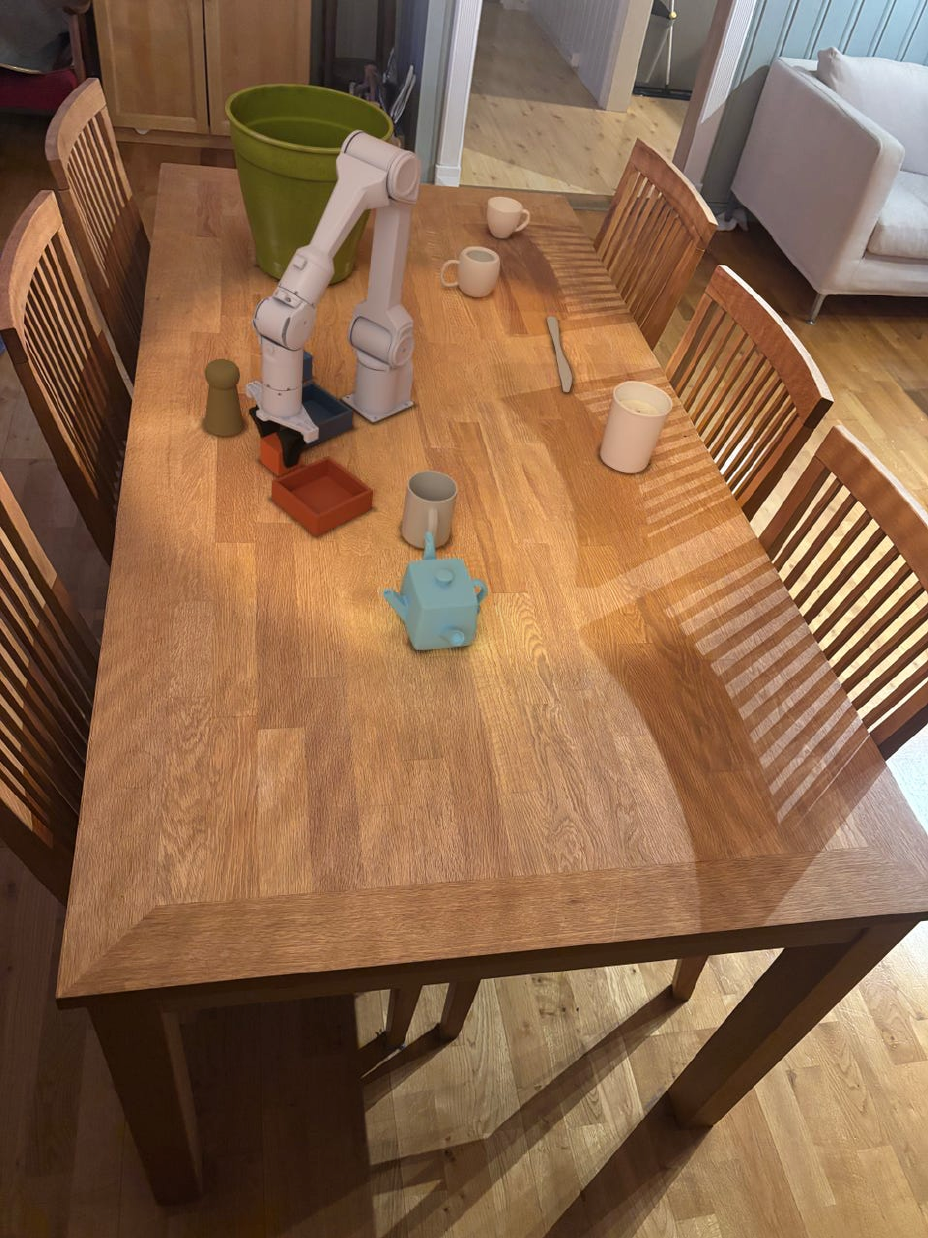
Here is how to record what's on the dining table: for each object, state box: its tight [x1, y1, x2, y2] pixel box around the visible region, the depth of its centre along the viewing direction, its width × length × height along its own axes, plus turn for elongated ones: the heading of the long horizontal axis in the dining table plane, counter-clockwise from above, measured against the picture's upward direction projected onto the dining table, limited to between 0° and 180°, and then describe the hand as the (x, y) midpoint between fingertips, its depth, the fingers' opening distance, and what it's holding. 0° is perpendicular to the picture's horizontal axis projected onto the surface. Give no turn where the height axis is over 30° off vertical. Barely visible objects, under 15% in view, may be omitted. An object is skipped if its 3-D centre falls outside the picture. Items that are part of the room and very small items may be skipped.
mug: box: [439, 245, 501, 298], centre depth 194 cm, size 12×8×8 cm
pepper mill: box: [203, 358, 244, 437], centre depth 150 cm, size 6×6×11 cm
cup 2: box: [485, 196, 531, 239], centre depth 216 cm, size 8×10×7 cm
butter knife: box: [546, 315, 573, 393], centre depth 184 cm, size 1×27×3 cm
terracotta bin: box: [271, 455, 374, 537], centre depth 143 cm, size 11×10×4 cm
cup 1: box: [400, 469, 459, 550], centre depth 139 cm, size 7×10×9 cm
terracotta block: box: [260, 433, 302, 478], centre depth 147 cm, size 4×4×4 cm
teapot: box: [381, 532, 489, 651], centre depth 126 cm, size 18×14×10 cm
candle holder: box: [599, 380, 674, 474], centre depth 160 cm, size 10×10×12 cm
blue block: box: [302, 348, 314, 383], centre depth 165 cm, size 4×4×4 cm
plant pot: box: [224, 83, 394, 286], centre depth 184 cm, size 30×30×29 cm
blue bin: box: [280, 380, 355, 451], centre depth 156 cm, size 11×10×4 cm
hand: (280, 456), depth 148 cm, fingers closed on terracotta block, 4 cm apart
